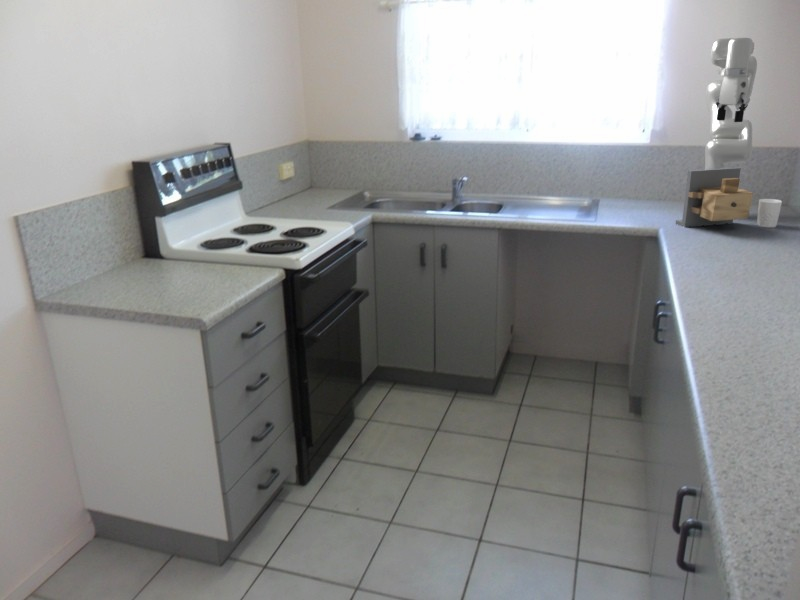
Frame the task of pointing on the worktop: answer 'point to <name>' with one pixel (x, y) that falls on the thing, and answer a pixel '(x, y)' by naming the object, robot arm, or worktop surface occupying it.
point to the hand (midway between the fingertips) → (729, 121)
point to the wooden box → (726, 201)
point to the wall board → (695, 198)
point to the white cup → (768, 212)
